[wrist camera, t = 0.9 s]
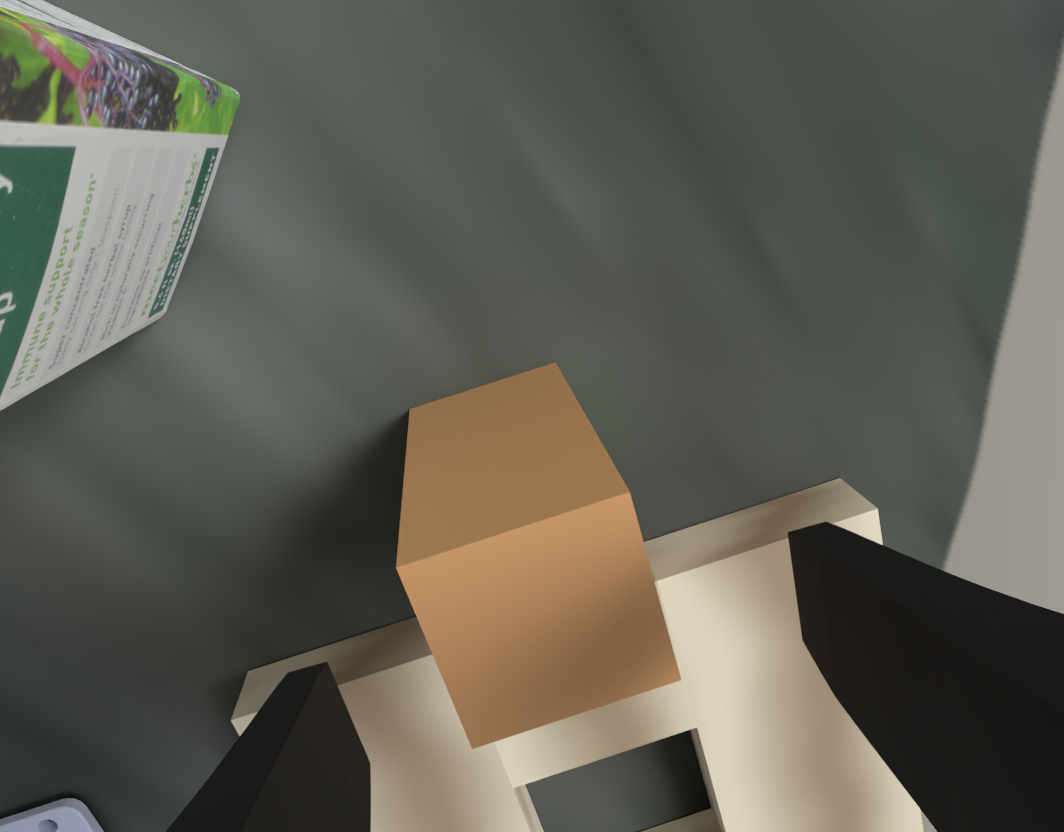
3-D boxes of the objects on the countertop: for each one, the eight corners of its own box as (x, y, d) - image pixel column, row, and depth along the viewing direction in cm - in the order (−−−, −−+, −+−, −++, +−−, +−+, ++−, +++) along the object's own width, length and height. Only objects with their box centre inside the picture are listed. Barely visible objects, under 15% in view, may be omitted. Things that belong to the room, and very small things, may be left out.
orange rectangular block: (458, 537, 21) (472, 749, 14) (409, 409, 20) (396, 567, 12) (593, 492, 21) (681, 680, 14) (555, 362, 20) (629, 491, 12)
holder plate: (431, 1012, 27) (430, 1075, 26) (248, 670, 22) (230, 720, 20) (900, 855, 28) (933, 906, 26) (839, 478, 22) (877, 508, 20)
